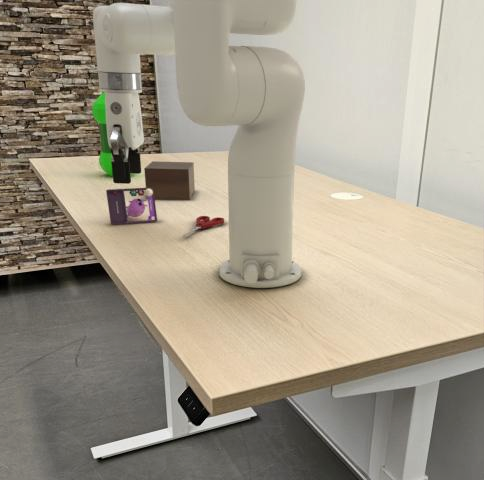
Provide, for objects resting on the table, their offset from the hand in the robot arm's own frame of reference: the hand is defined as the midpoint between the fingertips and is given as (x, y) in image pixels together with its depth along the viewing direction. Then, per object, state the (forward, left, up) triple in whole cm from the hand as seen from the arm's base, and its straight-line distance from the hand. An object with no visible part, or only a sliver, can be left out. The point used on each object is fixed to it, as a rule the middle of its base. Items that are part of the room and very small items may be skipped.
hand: (127, 177), depth 112 cm
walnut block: (+25, -4, -8) cm, 26 cm away
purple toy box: (0, 0, -9) cm, 9 cm away
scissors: (-6, -14, -9) cm, 18 cm away
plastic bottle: (+49, +14, -9) cm, 51 cm away
